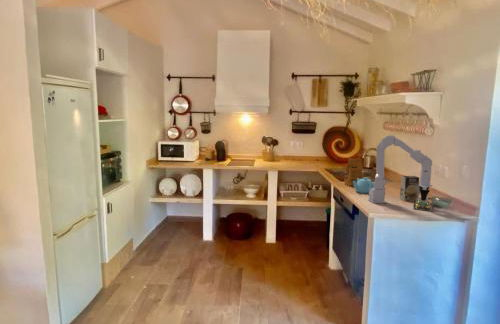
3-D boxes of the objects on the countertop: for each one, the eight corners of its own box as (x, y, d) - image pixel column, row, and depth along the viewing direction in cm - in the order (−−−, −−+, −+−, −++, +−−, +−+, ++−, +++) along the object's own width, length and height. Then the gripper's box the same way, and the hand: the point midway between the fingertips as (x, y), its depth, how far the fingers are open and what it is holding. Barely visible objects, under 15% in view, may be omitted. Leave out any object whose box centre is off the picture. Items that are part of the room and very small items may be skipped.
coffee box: (403, 201, 219) (405, 177, 217) (399, 198, 225) (401, 175, 223) (417, 201, 219) (419, 177, 217) (412, 198, 226) (414, 175, 223)
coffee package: (343, 183, 270) (344, 157, 267) (357, 183, 271) (359, 157, 268) (347, 186, 260) (349, 159, 257) (362, 186, 261) (364, 159, 258)
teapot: (350, 192, 242) (351, 177, 240) (356, 188, 254) (357, 174, 253) (372, 195, 234) (373, 180, 232) (377, 191, 246) (378, 177, 244)
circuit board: (429, 206, 197) (429, 199, 197) (416, 204, 200) (416, 198, 200) (428, 202, 206) (429, 196, 205) (416, 200, 209) (416, 194, 208)
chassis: (432, 211, 195) (432, 204, 195) (413, 209, 200) (414, 202, 199) (431, 206, 207) (431, 199, 206) (413, 204, 211) (414, 197, 211)
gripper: (433, 180, 192) (431, 202, 194) (432, 176, 205) (430, 197, 207) (419, 179, 196) (417, 201, 198) (419, 175, 208) (417, 195, 210)
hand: (423, 199), depth 203 cm, fingers open, 7 cm apart
